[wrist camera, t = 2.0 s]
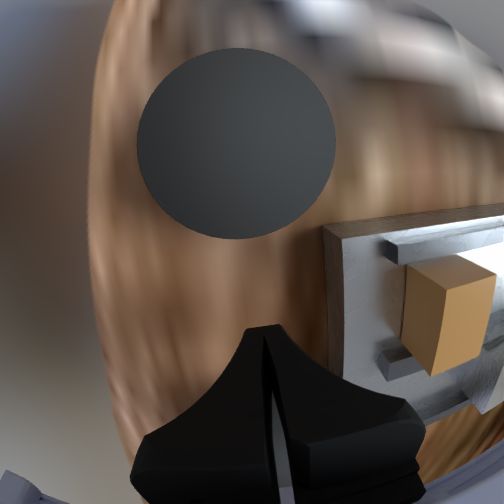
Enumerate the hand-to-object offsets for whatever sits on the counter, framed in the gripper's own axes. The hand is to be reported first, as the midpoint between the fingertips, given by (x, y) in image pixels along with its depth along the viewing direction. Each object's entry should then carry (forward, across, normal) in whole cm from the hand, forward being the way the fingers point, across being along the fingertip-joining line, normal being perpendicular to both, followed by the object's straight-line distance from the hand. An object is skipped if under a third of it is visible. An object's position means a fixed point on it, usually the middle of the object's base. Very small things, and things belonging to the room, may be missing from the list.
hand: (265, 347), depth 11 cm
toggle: (+1, -8, 0) cm, 8 cm away
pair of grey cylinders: (+4, 0, 0) cm, 4 cm away
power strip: (+4, -16, +3) cm, 17 cm away
